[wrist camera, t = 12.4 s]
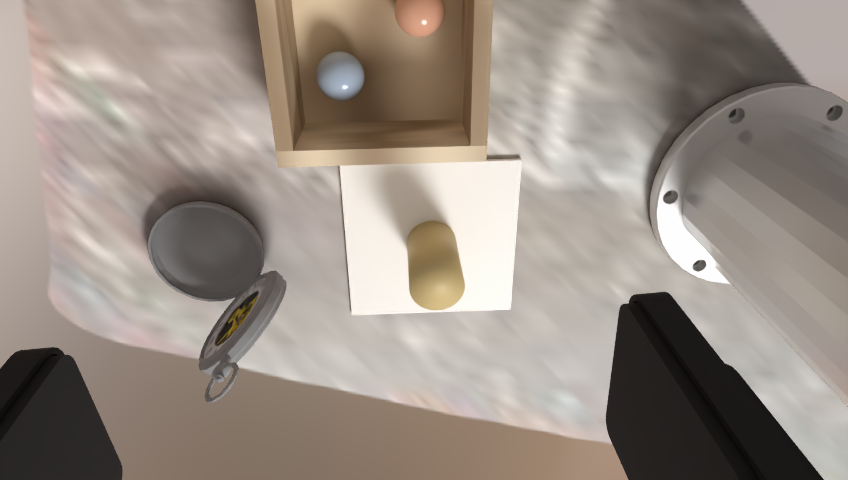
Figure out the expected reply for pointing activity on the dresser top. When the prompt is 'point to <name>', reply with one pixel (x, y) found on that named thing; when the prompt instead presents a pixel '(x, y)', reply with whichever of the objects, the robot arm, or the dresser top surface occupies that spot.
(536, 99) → the dresser top surface
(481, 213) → the lid
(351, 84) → the bead slate
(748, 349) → the dresser top surface
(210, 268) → the pocket watch
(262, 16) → the keepsake box
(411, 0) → the bead terracotta
